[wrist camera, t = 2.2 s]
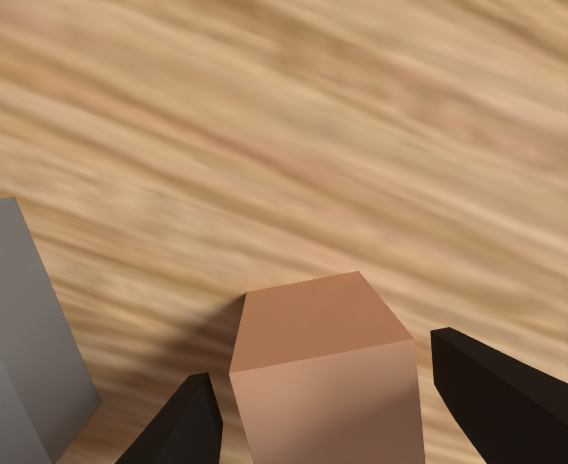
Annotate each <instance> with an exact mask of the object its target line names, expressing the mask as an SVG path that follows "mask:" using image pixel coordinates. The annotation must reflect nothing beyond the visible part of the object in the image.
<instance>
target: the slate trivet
mask: <svg viewBox="0 0 568 464" xmlns="http://www.w3.org/2000/svg"><path fill="white" fill-rule="evenodd" d="M100 403H101V402H100V400H99V397H98V395H97V393H96V390H95V388H94V385H93V383H92V381H91V378H90V376H89V373H88V371H87V369H86V366H85V364H84V361H83V359H82V357H81V354H80V352H79V349H78V347H77V345H76V342H75V340H74V337H73V335H72V333H71V330H70V328H69V325H68V323H67V321H66V318H65V316H64V313H63V311H62V309H61V306H60V304H59V301H58V299H57V297H56V294H55V292H54V289H53V287H52V285H51V282H50V280H49V277H48V275H47V273H46V270H45V268H44V265H43V263H42V261H41V258H40V256H39V253H38V251H37V249H36V246H35V244H34V241H33V239H32V237H31V234H30V232H29V229H28V227H27V225H26V222H25V220H24V217H23V215H22V213H21V210H20V208H19V206H18V203H17V201H16V198H15V197H11V198H2V199H0V464H56V462H57V461H58V460H59V458H60V457H61V456H62V454H63V453H64V452H65V450H66V449H67V447H68V446H69V445H70V443H71V442H72V441H73V439H74V438H75V437H76V435H77V434H78V433H79V431H80V430H81V429H82V427H83V426H84V425H85V423H86V422H87V420H88V419H89V418H90V416H91V415H92V414H93V412H94V411H95V410H96V408H97V407H98V406H99V404H100Z"/></svg>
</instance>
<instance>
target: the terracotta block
mask: <svg viewBox="0 0 568 464" xmlns="http://www.w3.org/2000/svg"><path fill="white" fill-rule="evenodd" d="M229 376H230V380H231V384H232V387H233V391H234V394H235V398H236V402H237V405H238V409H239V412H240V416H241V420H242V423H243V427H244V430H245V434H246V438H247V441H248V445H249V448H250V452H251V455H252V459H253V463H254V464H425V453H424V442H423V431H422V420H421V409H420V398H419V386H418V375H417V364H416V353H415V342H414V338H413V337H412V336H411V334H410V333H409V332H408V331H407V329H406V328H405V327H404V326H403V325H402V323H401V322H400V321H399V320H398V318H397V317H396V316H395V315H394V314H393V312H392V311H391V310H390V309H389V307H388V306H387V305H386V304H385V303H384V301H383V300H382V299H381V298H380V296H379V295H378V294H377V293H376V292H375V290H374V289H373V288H372V287H371V286H370V284H369V283H368V282H367V281H366V279H365V278H364V277H363V276H362V275H361V273H360V272H359V271H356V272H351V273H346V274H340V275H335V276H330V277H325V278H319V279H314V280H309V281H304V282H298V283H293V284H288V285H283V286H277V287H272V288H267V289H262V290H256V291H251V292H247V294H246V299H245V303H244V308H243V312H242V317H241V321H240V325H239V330H238V334H237V339H236V343H235V348H234V352H233V357H232V361H231V366H230V370H229Z"/></svg>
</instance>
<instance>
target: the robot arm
mask: <svg viewBox="0 0 568 464" xmlns="http://www.w3.org/2000/svg"><path fill="white" fill-rule="evenodd" d="M430 333H431V347H432V362H433V376H434V385H435V387H436V388H437V390H438V392H439V394H440V396H441V397H442V399H443V401H444V403H445V404H446V406H447V408H448V409H449V411H450V413H451V414H452V416H453V418H454V419H455V420H456V422H457V423H458V425H459V426H460V428H461V429H462V430H463V432H464V433H465V434H466V436H467V437H468V439H469V440H470V441H471V443H472V444H473V445H474V447H475V448H476V450H477V451H478V452H479V454H480V455H481V456H482V458H483V459H484V460H485V462H486V463H487V464H568V383H566V382H563V381H561V380H559V379H557V378H554V377H552V376H550V375H548V374H546V373H544V372H541V371H539V370H537V369H535V368H533V367H531V366H529V365H527V364H524V363H522V362H520V361H518V360H516V359H514V358H512V357H510V356H508V355H506V354H504V353H502V352H500V351H498V350H496V349H494V348H492V347H490V346H488V345H486V344H484V343H482V342H480V341H478V340H476V339H474V338H472V337H470V336H467V335H465V334H463V333H461V332H459V331H457V330H455V329H453V328H450V327H448V328H442V329H437V330H432V331H430ZM222 430H223V421H222V417H221V414H220V411H219V408H218V404H217V401H216V398H215V394H214V391H213V388H212V384H211V381H210V378H209V374H208V372H207V373H201V374H196V375H191V376H189V377H188V378H187V379H186V380H185V381H184V382H183V384H182V385H181V386H180V387H179V388H178V390H177V391H176V392H175V393H174V394H173V396H172V397H171V398H170V399H169V401H168V402H167V403H166V404H165V406H164V407H163V408H162V409H161V410H160V412H159V413H158V414H157V415H156V416H155V418H154V419H153V420H152V421H151V422H150V424H149V425H148V426H147V427H146V428H145V430H144V431H143V432H142V433H141V434H140V436H139V437H138V438H137V439H136V440H135V441H134V443H133V444H132V445H131V446H130V447H129V448H128V449H127V450H126V451H125V453H124V454H123V455H122V456H121V457H120V458H119V459H118V460H117V462H116V463H115V464H219V458H220V450H221V441H222Z"/></svg>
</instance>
